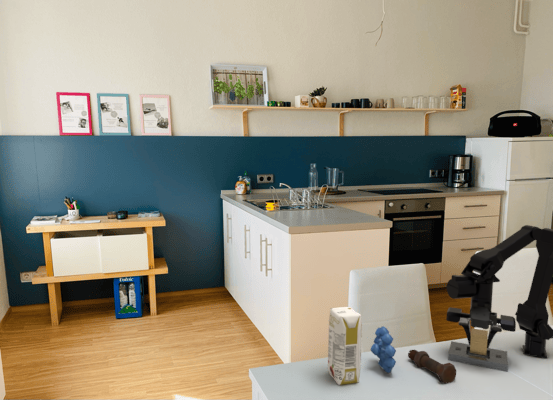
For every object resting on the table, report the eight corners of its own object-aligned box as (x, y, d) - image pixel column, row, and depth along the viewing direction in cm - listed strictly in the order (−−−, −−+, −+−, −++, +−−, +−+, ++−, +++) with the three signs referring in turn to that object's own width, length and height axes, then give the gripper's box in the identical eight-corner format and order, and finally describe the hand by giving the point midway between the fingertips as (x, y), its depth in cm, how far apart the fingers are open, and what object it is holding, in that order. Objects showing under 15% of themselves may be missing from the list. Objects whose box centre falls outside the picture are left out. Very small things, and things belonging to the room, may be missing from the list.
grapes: (362, 360, 134) (363, 321, 133) (384, 358, 135) (385, 320, 134) (376, 379, 123) (378, 337, 121) (400, 377, 124) (402, 336, 122)
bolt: (413, 365, 135) (451, 387, 122) (401, 360, 133) (439, 381, 120) (420, 347, 136) (459, 367, 123) (409, 341, 134) (447, 361, 121)
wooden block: (470, 346, 139) (471, 328, 138) (486, 349, 137) (487, 330, 136) (469, 352, 135) (471, 333, 134) (486, 355, 133) (487, 336, 132)
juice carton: (337, 387, 118) (339, 318, 116) (325, 372, 127) (326, 307, 125) (363, 383, 120) (365, 315, 118) (349, 369, 129) (351, 304, 127)
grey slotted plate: (451, 347, 144) (451, 340, 144) (506, 357, 137) (507, 351, 137) (448, 359, 135) (448, 353, 135) (507, 371, 128) (508, 364, 128)
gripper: (446, 299, 131) (443, 350, 132) (518, 309, 123) (514, 363, 124) (449, 289, 141) (446, 336, 142) (516, 297, 133) (512, 348, 134)
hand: (478, 346), depth 136 cm, fingers closed on wooden block, 4 cm apart
